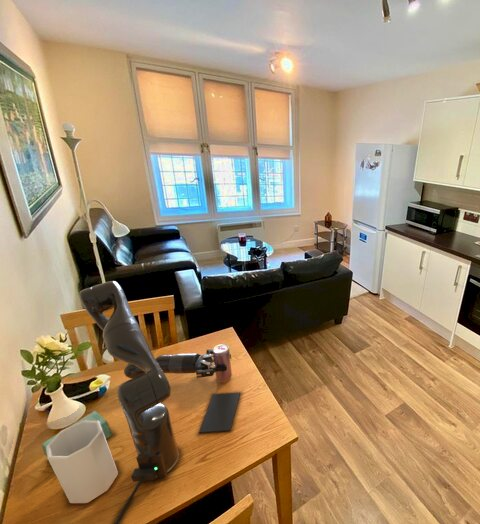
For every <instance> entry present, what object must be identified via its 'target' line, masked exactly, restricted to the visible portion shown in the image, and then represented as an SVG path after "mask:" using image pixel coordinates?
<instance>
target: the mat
mask: <svg viewBox="0 0 480 524" xmlns="http://www.w3.org/2000/svg"><path fill="white" fill-rule="evenodd" d="M240 396H241V392H226V393H212V397H211V399H210V402H209V405H208V408H207V410H206V413H205V415H204V418H203V421H202V424H201V426H200V429H199V434H206V433H208V434H209V433H223V432H231V430H232V427H233V422H234V419H235V415H236V411H237V407H238V403H239V400H240Z"/></svg>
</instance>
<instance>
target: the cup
mask: <svg viewBox="0 0 480 524" xmlns="http://www.w3.org/2000/svg"><path fill="white" fill-rule="evenodd" d="M75 423H76V422H75ZM73 424H74V423H73ZM73 424H71V425H72V426H71V425H69V426H70V427H69V426H68V427H66V428H63V429H61V430H60V431H59V432H58V433H57V434H56V435H57V436H56V437H55V438H54V439H53V440H52V441H51V442H50V443H49V444H48V445H47V446H46V451H47V457H46V458H47V461H48V462H49V464H50V467H51V468H52V470H53V472H54V474H55V476H56V478H57V480H58V482H59V484H60V486H61V488H62V491H63V492H64V494H65V496H66V498H67V500H68V502H69V504H88V503H90V502H91V501H93V500H95V499H96V498H98V497H99V496H101V495H103V494H104V493H106V492H107V491H108V490H110V489H109V488H111V486H112V484H113V483H114V481H115V479H116V478H117V477H118V475H119V471H118V469H117V465H116V461H115V460H114V457H113V455H112V451H111V449H110V446H109V444H108V441H107V439H106V438H105V436H104V433H103V430H102V428H101V425H100V422H99V421H80V422H78V423H76V424H74V425H73Z"/></svg>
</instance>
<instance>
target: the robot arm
mask: <svg viewBox="0 0 480 524" xmlns="http://www.w3.org/2000/svg"><path fill="white" fill-rule="evenodd" d="M78 295H79V300H80V302H81V305H82V306H83V308H84V309H85V311H86V312H87V314H88V316H90V318H92V320H93V321H94V322H95V324H96V325H97V326H98V327H99V328H100V330H101V331H102V340H103V342H104V345H105V347H106V350H107V353H108V354H109V355H110V356H111V357H113V358H114V359H116V360H119V361H121V362H124V363H126V365H125V367H124V369H123V374H124V376H125V377H126V378H128V379H127V380H126V381H123V382H122V383H120V384H119V385H118V388H117V390H116V391H117V392H116V393H117V394H116V395H117V398H118V402H119V405H120V407H121V409H122V412H123V414H124V416H125V418H126V421H127V425H128V428H129V432H130V435H131V439H132V442H133V445H134V447H135V451H136V454H137V456H136V458H135V459H136V463H137V465H138V468H137V467H136V468H134V470H133V472H132V474H131V475H130V477H131V480H132V482H133V483H134V482H137V484H136V486H135V487H134V489H133V491H132V492H131V494H130V495H129V497H128V499H127V501H126V503H125V504H124V506H123V508H122V509H121V511H120V513H119V515H118V517H117V518H116V520H115V522H113V524H119V522H120V521H121V519H122V517H123V515H124V514H125V512H126V511H127V508H128V507H129V505H130V504H131V501H132V500H133V498H134V496H135V495H136V493H137V491H138V490H139V488H140V486H141V485H142V483H143V482H146V481H147V482H148V481H154V480H155V479H161V478H162V479H163V478H166V477H167V475H168V474H169V473H170V472H171V471H172V470H173V469H174V468H175V466H176V465H177V464H178V461H179V459H180V452H179V449H178V445H177V441H176V436H175V433H174V429H173V425H172V420H171V416H170V411H169V408H168V407H167V406H166V405H165V404H163V403H164V402H165V401H167V400H168V399H170V397H171V395H172V389H171V385H170V382H169V379H168V378H167V375H166V374H173V375H174V374H175V375H179V374H180V375H181V374H182V375H183V374H195V376H196V379H201V378H208V377H209V378H210V377H213V376H214V374H216V373H215V372H219V371H226V370H227V366H226V365H217V366H215V365H214V357H213V349H210V348H207V349H206V351H205V353H204V354H199V353H195V352H194V353H193V352H192V353H175V354H161V355H158V356H156V358H155V356H154V355H153V352H152V351H151V349H150V346H149V344H148V341H147V339H146V337H145V334H144V332H143V330H142V329H141V326H140V324H139V323H138V321H137V319H136V317H135V315H134V314H133V312H132V310H131V307H130V304H129V302H128V300H127V299H128V298H127V296H126V294H125V291H124V289H123V288H122V286H121V284H119V283H118V282H117V281H116V280H109V281H105V282H102V283H98V284H95V285H93V286H91V287H87V288H84V289H82V290H80V291H79V294H78ZM109 310H113V311H112V314H111V315H110V316H109V317H107V315H106V314H105V313H104V312H107V311H109ZM231 359H232V354H231V353H230V360H231Z"/></svg>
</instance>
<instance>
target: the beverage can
mask: <svg viewBox="0 0 480 524" xmlns="http://www.w3.org/2000/svg"><path fill="white" fill-rule="evenodd" d="M229 347H230V346H229V345H228V344H226V343H220V344H217V345H215V346H214V347H213V349H212V350H213V357H214V362H213V365H215V366H217V365H226V366H227V370H226V371H219V372H215V373H214V374H215V379H216V381H217V382H219V383H225V382H228V381H229V380H231V377H232V374H233V373H232V364H231V359H230V354H231V353H230V348H229ZM213 357H212V358H213Z"/></svg>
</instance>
